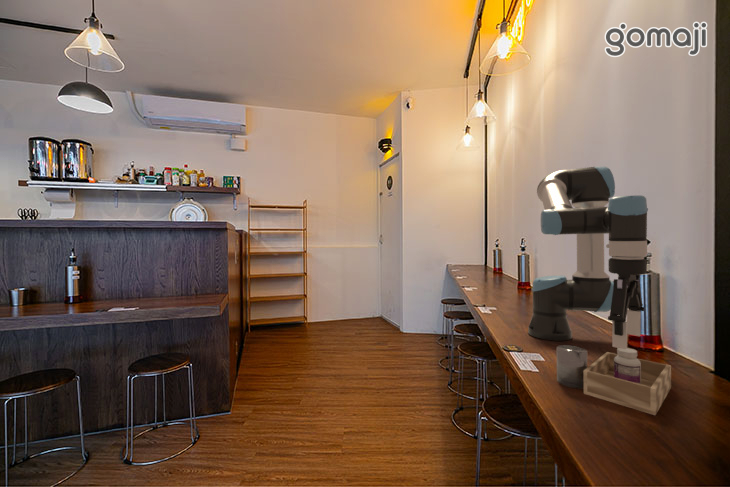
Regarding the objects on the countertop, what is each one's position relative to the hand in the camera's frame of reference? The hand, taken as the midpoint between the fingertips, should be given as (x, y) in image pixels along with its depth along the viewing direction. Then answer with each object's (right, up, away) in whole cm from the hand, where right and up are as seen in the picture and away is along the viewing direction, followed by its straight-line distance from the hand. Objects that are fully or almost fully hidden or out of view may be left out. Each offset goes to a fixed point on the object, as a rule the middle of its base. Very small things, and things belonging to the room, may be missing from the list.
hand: (626, 341), depth 83 cm
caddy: (0, -13, 0) cm, 13 cm away
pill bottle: (0, -12, 0) cm, 12 cm away
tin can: (-11, -13, +5) cm, 17 cm away
